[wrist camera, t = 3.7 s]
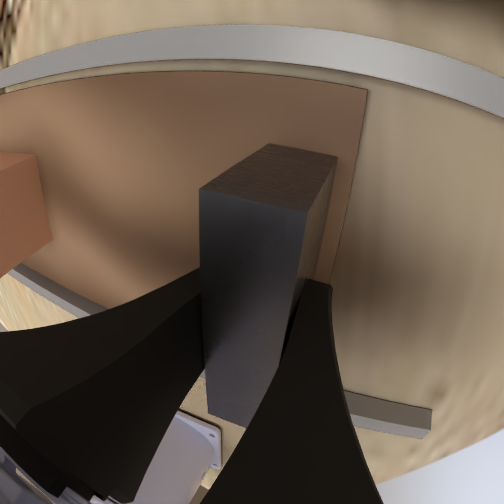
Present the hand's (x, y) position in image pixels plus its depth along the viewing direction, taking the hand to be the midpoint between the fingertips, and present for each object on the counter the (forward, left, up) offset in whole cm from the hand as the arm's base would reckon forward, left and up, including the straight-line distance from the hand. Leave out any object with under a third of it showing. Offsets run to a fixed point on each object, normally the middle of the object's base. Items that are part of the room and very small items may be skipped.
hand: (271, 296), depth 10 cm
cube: (0, +15, -2) cm, 16 cm away
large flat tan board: (0, +10, -2) cm, 11 cm away
